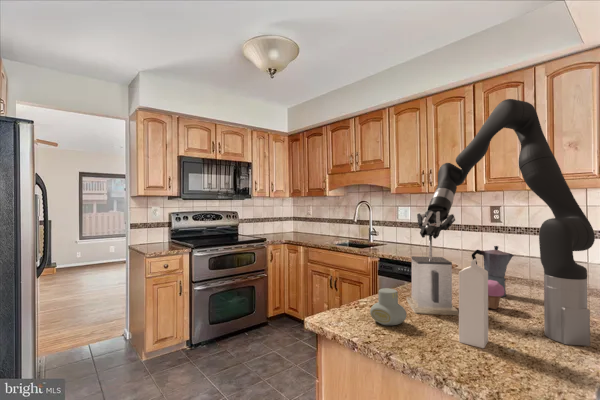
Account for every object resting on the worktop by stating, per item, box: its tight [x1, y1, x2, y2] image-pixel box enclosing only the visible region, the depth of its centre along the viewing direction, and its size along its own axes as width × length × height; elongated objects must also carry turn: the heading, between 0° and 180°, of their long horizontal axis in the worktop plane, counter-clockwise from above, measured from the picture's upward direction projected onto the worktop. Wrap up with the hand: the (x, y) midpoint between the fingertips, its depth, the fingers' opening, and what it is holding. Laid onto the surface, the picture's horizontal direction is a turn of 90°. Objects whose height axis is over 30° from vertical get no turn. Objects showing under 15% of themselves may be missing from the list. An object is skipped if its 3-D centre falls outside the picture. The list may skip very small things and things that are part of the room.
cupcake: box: [488, 280, 506, 310], centre depth 114 cm, size 9×9×10 cm
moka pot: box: [471, 245, 515, 298], centre depth 132 cm, size 10×15×20 cm, turn 78°
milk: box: [458, 258, 489, 349], centre depth 86 cm, size 6×6×22 cm
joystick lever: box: [425, 224, 437, 260], centre depth 114 cm, size 9×9×24 cm
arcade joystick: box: [406, 256, 459, 316], centre depth 114 cm, size 14×14×17 cm
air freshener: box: [369, 287, 407, 327], centre depth 100 cm, size 11×8×10 cm
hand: (428, 236), depth 113 cm, fingers closed on joystick lever, 3 cm apart
